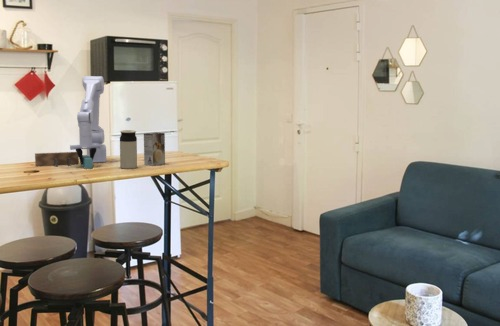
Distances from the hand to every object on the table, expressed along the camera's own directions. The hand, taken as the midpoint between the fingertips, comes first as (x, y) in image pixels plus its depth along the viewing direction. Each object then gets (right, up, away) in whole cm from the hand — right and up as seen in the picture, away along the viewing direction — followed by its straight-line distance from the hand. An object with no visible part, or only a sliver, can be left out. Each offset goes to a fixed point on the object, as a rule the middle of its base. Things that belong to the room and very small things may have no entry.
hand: (86, 163), depth 252 cm
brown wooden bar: (-15, -1, +2) cm, 15 cm away
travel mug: (+21, -2, 0) cm, 21 cm away
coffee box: (+31, -1, +12) cm, 33 cm away
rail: (0, -2, 0) cm, 2 cm away
